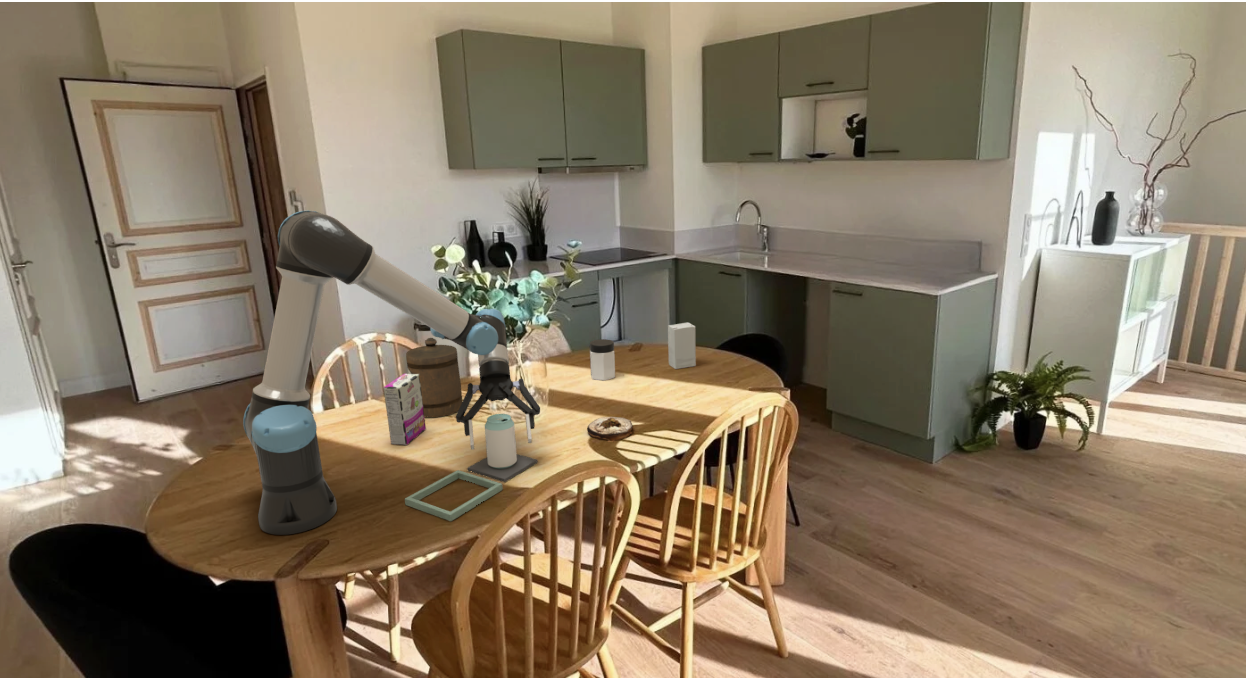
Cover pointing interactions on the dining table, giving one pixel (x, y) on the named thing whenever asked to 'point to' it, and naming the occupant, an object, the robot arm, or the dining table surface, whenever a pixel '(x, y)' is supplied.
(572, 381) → the dining table surface
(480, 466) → the coaster
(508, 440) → the can
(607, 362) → the jar
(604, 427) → the sushi roll
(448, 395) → the wooden container
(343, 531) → the dining table surface
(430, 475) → the dining table surface
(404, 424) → the candy bar box
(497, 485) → the corral
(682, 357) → the skincare box
